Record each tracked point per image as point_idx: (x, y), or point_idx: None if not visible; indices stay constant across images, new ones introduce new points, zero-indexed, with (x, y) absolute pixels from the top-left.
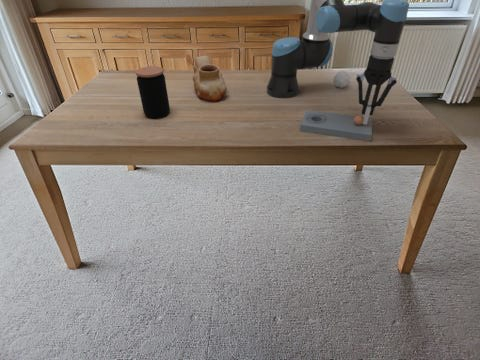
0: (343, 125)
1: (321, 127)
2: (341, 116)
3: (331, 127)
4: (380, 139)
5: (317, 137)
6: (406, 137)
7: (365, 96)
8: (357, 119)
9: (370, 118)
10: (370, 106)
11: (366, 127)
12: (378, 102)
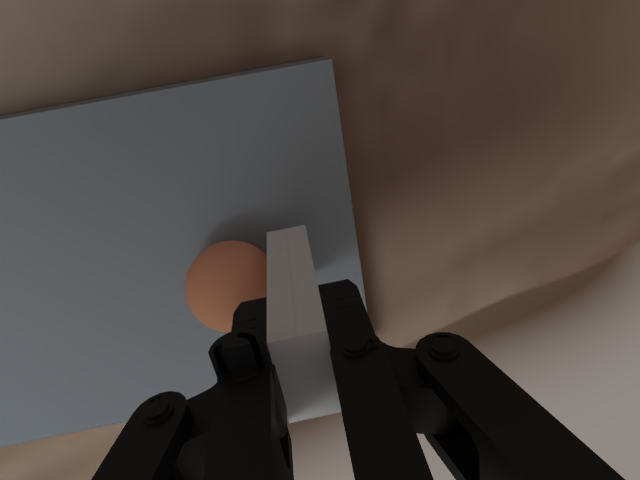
0: (139, 336)
1: (10, 439)
2: (29, 174)
3: (75, 406)
4: (426, 280)
5: (51, 443)
6: (604, 162)
7: (208, 475)
8: (228, 331)
9: (317, 69)
10: (327, 383)
11: (319, 281)
12: (439, 447)
